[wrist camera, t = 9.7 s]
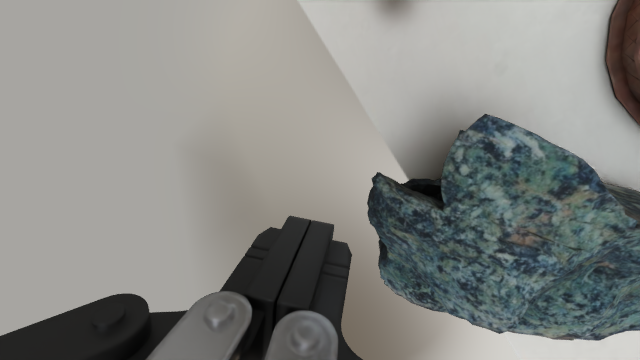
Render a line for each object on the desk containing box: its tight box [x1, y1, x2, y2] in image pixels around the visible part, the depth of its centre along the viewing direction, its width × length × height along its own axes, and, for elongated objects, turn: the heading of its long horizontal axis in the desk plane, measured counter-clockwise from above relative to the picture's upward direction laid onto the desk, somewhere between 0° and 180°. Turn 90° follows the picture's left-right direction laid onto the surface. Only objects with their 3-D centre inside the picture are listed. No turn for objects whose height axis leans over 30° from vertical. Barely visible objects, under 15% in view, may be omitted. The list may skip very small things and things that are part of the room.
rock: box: [367, 114, 640, 340], centre depth 25 cm, size 28×26×15 cm
